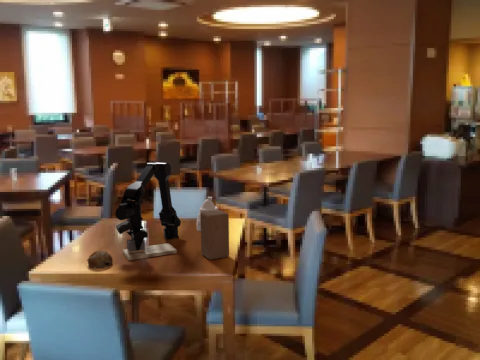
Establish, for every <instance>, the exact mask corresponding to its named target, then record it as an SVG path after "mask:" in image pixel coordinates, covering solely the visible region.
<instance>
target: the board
mask: <svg viewBox="0 0 480 360" xmlns="http://www.w3.org/2000/svg"><path fill="white" fill-rule="evenodd" d="M177 251H178V250H177V249H176V248H175V247H174V246H173V245H172V244H170V243H161V244H160V243H159V244H153V245H147V246H146V245H145V251H142V252H135V253H129V252H128V251H127V248H125V249H124V248H123V249H122V254H123V255H124V257H126V259H127V260H128V261H134V260H141V259H146V258H153V257H159V256H166V255H174V254H178V252H177Z"/></svg>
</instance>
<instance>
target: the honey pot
mask: <svg viewBox="0 0 480 360" xmlns="http://www.w3.org/2000/svg"><path fill="white" fill-rule="evenodd" d="M200 206H201V207H198V208H199V211H198V214H197V219H196V230H197V231H198V232H200V233H201V217H200V213H201V212H204V211H212V210H219V209H218V206H216V205H215V204H214V202H213V196H207V199H205V200H204V201H203V202H202V204H201V205H200Z"/></svg>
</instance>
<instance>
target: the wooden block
mask: <svg viewBox="0 0 480 360" xmlns="http://www.w3.org/2000/svg"><path fill="white" fill-rule="evenodd" d="M200 217H201V232H200V243H201V245H200V248H201V249H200V251H201V252H200V253H201V255H202V256H203V257H205V258H206V259H208V260H211V261H212V260H217V259H222V258H228V257H230V222H229V219H230V218H229V213H228V212H225V211H223V210H221V209H217V210H212V211H204V212H201V213H200Z"/></svg>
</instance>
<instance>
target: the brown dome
mask: <svg viewBox="0 0 480 360" xmlns="http://www.w3.org/2000/svg"><path fill="white" fill-rule="evenodd" d="M86 261H87V264H88V267H90V268H91V269H102V268H103V269H105V268H107V267H110V266H111V265H112V264H113V257H112V255H111V254H110V253H109V252H108V251H107V250H106V251H105V250H96V251H94V252H92V253H91V254H90V255H89V256H88V258H87V260H86Z"/></svg>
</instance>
